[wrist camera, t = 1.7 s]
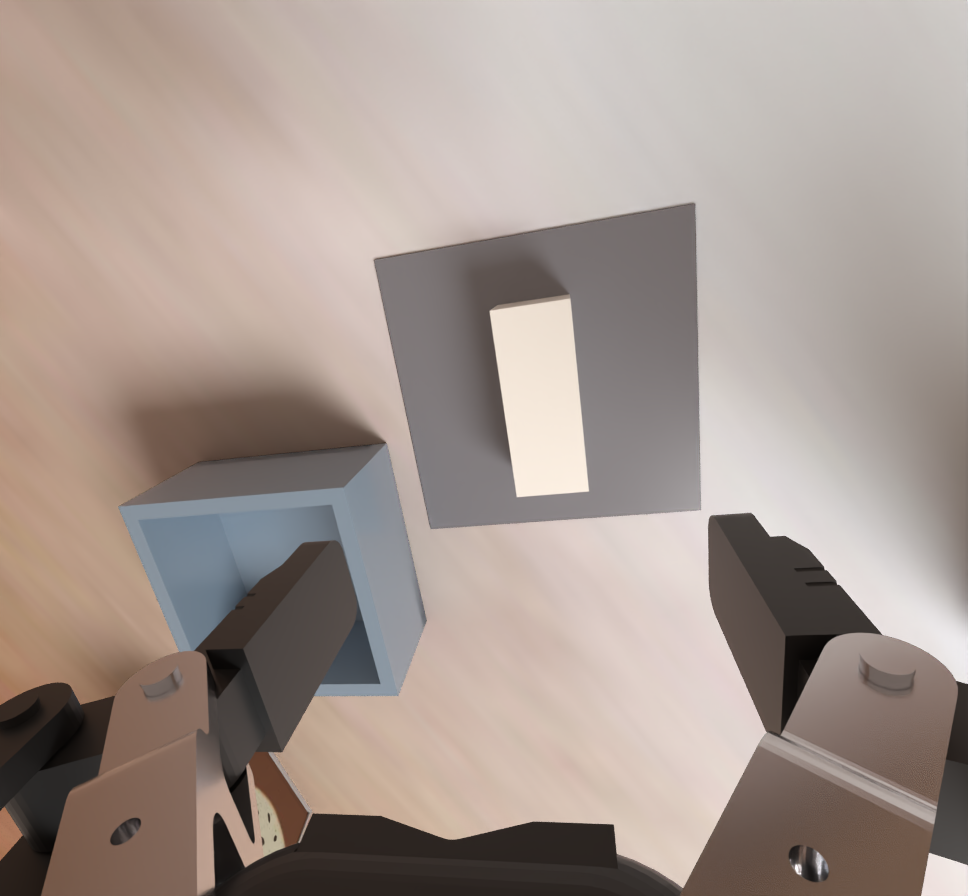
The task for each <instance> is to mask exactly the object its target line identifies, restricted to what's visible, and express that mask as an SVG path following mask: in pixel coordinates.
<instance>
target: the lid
mask: <svg viewBox="0 0 968 896" xmlns="http://www.w3.org/2000/svg"><path fill="white" fill-rule="evenodd" d="M374 262H375V267H376V271H377V276H378V281H379V286H380V290H381V295H382V300H383V305H384V309H385V314H386V319H387V323H388V328H389V333H390V338H391V342H392V347H393V352H394V357H395V361H396V366H397V371H398V376H399V380H400V385H401V390H402V395H403V399H404V404H405V409H406V413H407V418H408V423H409V428H410V432H411V437H412V442H413V447H414V451H415V456H416V461H417V466H418V470H419V475H420V480H421V485H422V489H423V494H424V499H425V503H426V508H427V513H428V518H429V522H430V527H431V529H439V528H453V527H467V526H482V525H496V524H510V523H525V522H539V521H553V520H567V519H582V518H596V517H610V516H625V515H639V514H653V513H668V512H682V511H696V510H701V487H700V434H699V382H698V329H697V277H696V224H695V204H690V205H684V206H679V207H673V208H667V209H662V210H656V211H650V212H645V213H639V214H633V215H628V216H622V217H616V218H610V219H605V220H599V221H593V222H588V223H582V224H576V225H571V226H565V227H559V228H554V229H548V230H542V231H537V232H531V233H525V234H519V235H514V236H508V237H502V238H497V239H491V240H485V241H480V242H474V243H468V244H463V245H457V246H451V247H446V248H440V249H434V250H428V251H423V252H417V253H411V254H406V255H400V256H394V257H389V258H383V259H377V260H374Z"/></svg>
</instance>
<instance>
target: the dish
mask: <svg viewBox="0 0 968 896" xmlns="http://www.w3.org/2000/svg"><path fill="white" fill-rule="evenodd" d="M118 508H119V510H120V512H121V515H122V517H123V519H124V522H125V524H126V527H127V529H128V531H129V534H130V536H131V538H132V541H133V543H134V546H135V548H136V550H137V553H138V555H139V557H140V560H141V562H142V564H143V567H144V569H145V572H146V574H147V576H148V579H149V581H150V583H151V586H152V588H153V591H154V593H155V595H156V598H157V600H158V602H159V605H160V607H161V610H162V612H163V614H164V617H165V619H166V621H167V624H168V626H169V629H170V631H171V633H172V636H173V638H174V640H175V643H176V645H177V648H178V650H179V652H183V651H194V650H195V649H196V648H197V647H198V646H199V645H200V644H201V643H202V642H203V640H204V639H205V638H206V637H207V636H208V635H209V634H210V633H211V632H212V631H213V630H214V629H215V628H216V627H217V625H218V624H219V623H220V622H221V621H222V620H223V619H224V618H225V617H226V616H227V615H228V614H229V613H230V612H231V610H235V606H236V605H237V604H238V603H239V602H240V601H241V600H242V599H243V598H244V597H247V593H248V592H249V591H250V590H251V589H252V588H253V587H254V586H255V585H256V584H257V583H258V582H259V581H260V579H261V578H263V577H264V576H266V575H267V574H269V573H270V572H272V571H273V570H275V569H276V568H278V567H279V566H281V565H282V564H283V563H284V562H285V561H286V560H287V559H288V558H289V557H290V556H291V555H292V553H293V552H294V551H295V550H296V549H297V548H298V547H299V546H300V545H301V544H302V543H304V542H316V541H330V540H336V541H338V542H339V543H340V545H341V547H342V549H343V552H344V556H345V559H346V563H347V566H348V570H349V574H350V577H351V581H352V585H353V588H354V592H355V595H356V601H357V614H356V619H355V623H354V625H353V627H352V629H351V631H350V633H349V634H348V636H347V638H346V640H345V641H344V643H343V645H342V647H341V649H340V650H339V652H338V654H337V656H336V657H335V659H334V661H333V663H332V665H331V666H330V668H329V670H328V672H327V673H326V675H325V677H324V679H323V681H322V682H321V684H320V686H319V688H318V689H317V691H316V693H315V695H314V696H398V695H399V693H400V690H401V687H402V685H403V682H404V679H405V677H406V674H407V671H408V669H409V666H410V663H411V661H412V658H413V656H414V653H415V650H416V648H417V645H418V642H419V640H420V637H421V634H422V632H423V629H424V626H425V624H426V621H427V620H426V616H425V611H424V607H423V602H422V598H421V594H420V589H419V585H418V580H417V576H416V571H415V567H414V562H413V558H412V554H411V549H410V545H409V540H408V536H407V531H406V527H405V522H404V518H403V513H402V509H401V505H400V500H399V496H398V491H397V487H396V482H395V478H394V473H393V469H392V464H391V460H390V456H389V451H388V447H387V443H383V444H373V445H363V446H353V447H343V448H333V449H323V450H313V451H303V452H293V453H283V454H274V455H264V456H254V457H244V458H234V459H224V460H214V461H204V462H198V463H196V464H194V465H192V466H191V467H189V468H187V469H185V470H183V471H182V472H180V473H178V474H176V475H174V476H173V477H171V478H169V479H167V480H165V481H164V482H162V483H160V484H158V485H156V486H155V487H153V488H151V489H149V490H147V491H145V492H144V493H142V494H140V495H138V496H136V497H135V498H133V499H131V500H129V501H127V502H126V503H124V504H122V505H120V506H118Z"/></svg>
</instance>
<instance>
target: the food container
mask: <svg viewBox="0 0 968 896" xmlns="http://www.w3.org/2000/svg"><path fill="white" fill-rule="evenodd" d="M249 766H250V768H251V770H252V773H253V777H254V785H255V793H256V800H257V808H258V816H259V823H260V831H261V838H262V846H263V854H264V857H265V856H267V855H269V854H271V853H273V852H275V851H277V850H280V849H282V848H285V847H288V846H290V845H293V844H296V843H300V841H301V839H302V837H303V835H304V832H305V830H306V827H307V824H308V822H309V819H310V817H311V814H312V810H311V809H310V807H309V806H308V804H307V803H306V801H305V800H304V798H303V797H302V795H301V794H300V792H299V791H298V789H297V788H296V786H295V785H294V783H293V782H292V780H291V779H290V777H289V776H288V774H287V773H286V771H285V770H284V768H283V767H282V765H281V763H280V762H279V760H278V759H277V757H276V756H275V754H274V753H273V752H255V753H254V755H253V756H252V758H251V760H250V761H249Z"/></svg>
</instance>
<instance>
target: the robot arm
mask: <svg viewBox="0 0 968 896" xmlns="http://www.w3.org/2000/svg"><path fill="white" fill-rule="evenodd" d="M708 549H709V590H710V597H711V602H712V606H713V610H714V613H715V615H716V618H717V620H718V622H719V624H720V627H721V629H722V631H723V634H724V636H725V638H726V640H727V643H728V645H729V647H730V650H731V652H732V654H733V657H734V659H735V661H736V663H737V666H738V668H739V670H740V673H741V675H742V677H743V679H744V682H745V684H746V686H747V689H748V691H749V693H750V695H751V698H752V700H753V702H754V705H755V707H756V709H757V711H758V714H759V716H760V718H761V721H762V723H763V725H764V727H765V730H766V732H767V733H766V734H765V735H764V736H763V738H762V739H761V741H760V743H759V744H758V746H757V748H756V750H755V752H754V754H753V756H752V758H751V760H750V762H749V763H748V765H747V767H746V769H745V771H744V773H743V775H742V777H741V779H740V781H739V783H738V785H737V786H736V788H735V790H734V792H733V794H732V796H731V798H730V800H729V802H728V804H727V806H726V808H725V809H724V811H723V813H722V815H721V817H720V819H719V821H718V823H717V825H716V827H715V829H714V831H713V832H712V834H711V836H710V838H709V840H708V842H707V844H706V846H705V848H704V850H703V852H702V854H701V855H700V857H699V859H698V861H697V863H696V865H695V867H694V869H693V871H692V873H691V875H690V877H689V878H688V880H687V882H686V884H685V886H684V888H682V887H680V886H679V885H678V884H676V883H675V882H673V881H672V880H670V879H668V878H667V877H665V876H664V875H662V874H660V873H659V872H657V871H656V870H653V869H651V868H649V867H647V866H645V865H643V864H641V863H639V862H637V861H635V860H632V859H629V858H626V857H624V856H621V855H618V854H617V853H616V843H615V833H614V825H611V824H584V823H556V822H530V823H526V824H521V825H517V826H513V827H509V828H504V829H500V830H496V831H492V832H487V833H483V834H479V835H475V836H471V837H466V838H462V839H457V840H448V839H444V838H441V837H438V836H435V835H432V834H430V833H427V832H424V831H421V830H418V829H416V828H413V827H410V826H407V825H404V824H402V823H399V822H396V821H393V820H390V819H388V818H385V817H382V816H365V815H338V814H312V817H311V819H310V821H309V823H308V826H307V828H306V830H305V832H304V835H303V837H302V839H301V841H300V843H296V844H293V845H290V846H288V847H285V848H282V849H280V850H277V851H275V852H273V853H271V854H269V855H267V856H265V857H264V854H263V846H262V838H261V831H260V823H259V816H258V808H257V800H256V793H255V785H254V777H253V773H252V770H251V768H250V766H249V761H250V760H251V758H252V756H253V755H254V753H255V752H283V750H284V748H285V746H286V745H287V743H288V741H289V739H290V737H291V736H292V734H293V732H294V730H295V729H296V727H297V725H298V723H299V721H300V720H301V718H302V716H303V714H304V713H305V711H306V709H307V707H308V705H309V704H310V702H311V700H312V698H313V697H314V695H315V693H316V691H317V689H318V688H319V686H320V684H321V682H322V681H323V679H324V677H325V675H326V673H327V672H328V670H329V668H330V666H331V665H332V663H333V661H334V659H335V657H336V656H337V654H338V652H339V650H340V649H341V647H342V645H343V643H344V641H345V640H346V638H347V636H348V634H349V633H350V631H351V629H352V627H353V625H354V623H355V619H356V614H357V601H356V595H355V592H354V588H353V585H352V581H351V577H350V574H349V570H348V566H347V563H346V559H345V556H344V552H343V549H342V547H341V545H340V543H339V542H338V541H336V540H330V541H316V542H304V543H302V544H301V545H300V546H299V547H298V548H297V549H296V550H295V551H294V552H293V553H292V555H291V556H290V557H289V558H288V559H287V560H286V561H285V562H284V563H283V564H282V565H281V566H279V567H278V568H276V569H275V570H273V571H272V572H270V573H269V574H267V575H266V576H264V577H263V578H261V579H260V581H259V582H258V583H257V584H256V585H255V586H254V587H253V588H252V589H251V590H250V591H249V592H248V593H247V597H244V598H243V599H242V600H241V601H240V602H239V603H238V604H237V605H236V606H235V610H231V612H230V613H229V614H228V615H227V616H226V617H225V618H224V619H223V620H222V621H221V622H220V623H219V624H218V625H217V627H216V628H215V629H214V630H213V631H212V632H211V633H210V634H209V635H208V636H207V637H206V638H205V639H204V640H203V642H202V643H201V644H200V645H199V646H198V647H197V648H196V649H195V650H194V651H183V652H178V653H174V654H171V655H168V656H165V657H163V658H160V659H158V660H156V661H154V662H152V663H150V664H148V665H147V666H145V667H144V668H142V669H140V670H139V671H138V672H136V673H135V674H134V675H133V676H131V677H130V678H129V679H128V680H127V681H126V682H125V683H124V684H123V685H122V686H121V688H120V689H119V690H118V692H117V694H116V695H115V696H113V697H109V698H105V699H101V700H97V701H94V702H90V703H86V704H82V705H80V703H79V701H78V700H77V698H76V696H75V694H74V692H73V690H72V688H71V687H70V685H68V684H66V683H51V684H46V685H42V686H39V687H36V688H33V689H31V690H28V691H26V692H24V693H22V694H20V695H17V696H16V697H14V698H12V699H10V700H8V701H7V702H5V703H3V704H2V705H0V810H1V809H2V808H3V807H4V806H5V808H6V809H7V811H8V813H9V814H10V816H11V817H12V819H13V820H14V822H15V823H16V825H17V827H18V828H19V830H20V831H21V833H22V834H23V836H22V837H21V838H20V839H19V840H18V842H17V843H16V844H15V845H14V846H13V847H12V848H11V850H10V851H9V852H8V853H7V854H6V855H5V856H4V857H3V859H2V860H1V861H0V896H921V893H922V887H923V882H924V876H925V871H926V866H927V860H928V855H929V853H932V854H935V855H938V856H941V857H945V858H948V859H951V860H954V861H957V862H960V863H963V864H967V865H968V684H965V683H961V682H958V681H956V680H955V678H954V677H953V675H952V674H951V672H950V671H949V670H948V669H947V668H946V667H945V666H944V665H943V664H942V663H941V662H940V661H939V660H937V659H936V658H935V657H933V656H932V655H930V654H929V653H927V652H925V651H924V650H922V649H920V648H918V647H916V646H914V645H912V644H909V643H907V642H904V641H901V640H899V639H896V638H892V637H888V636H884V635H882V634H881V633H880V632H879V630H878V629H877V628H876V627H875V626H874V625H873V623H872V622H871V621H870V620H869V619H868V618H867V616H866V615H865V614H864V613H863V612H862V611H861V609H860V608H859V607H858V606H857V605H856V604H855V602H854V601H853V600H852V599H851V598H850V597H849V595H848V594H847V593H846V592H845V591H844V590H843V588H842V587H841V586H840V585H837V583H836V580H835V579H834V578H833V577H832V576H831V574H830V573H829V572H828V571H827V570H824V566H823V565H822V564H821V563H820V562H819V561H818V559H817V558H816V557H815V556H814V555H813V554H812V552H811V551H810V550H809V549H807V548H805V547H804V546H802V545H800V544H798V543H796V542H795V541H793V540H791V539H789V538H788V537H786V536H777V537H770V536H769V535H768V533H767V532H766V531H765V529H764V528H763V527H762V526H761V524H760V523H759V522H758V520H757V519H756V518H755V516H754V515H753V514H752V513H742V514H727V515H713V516H710V518H709V524H708Z"/></svg>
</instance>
